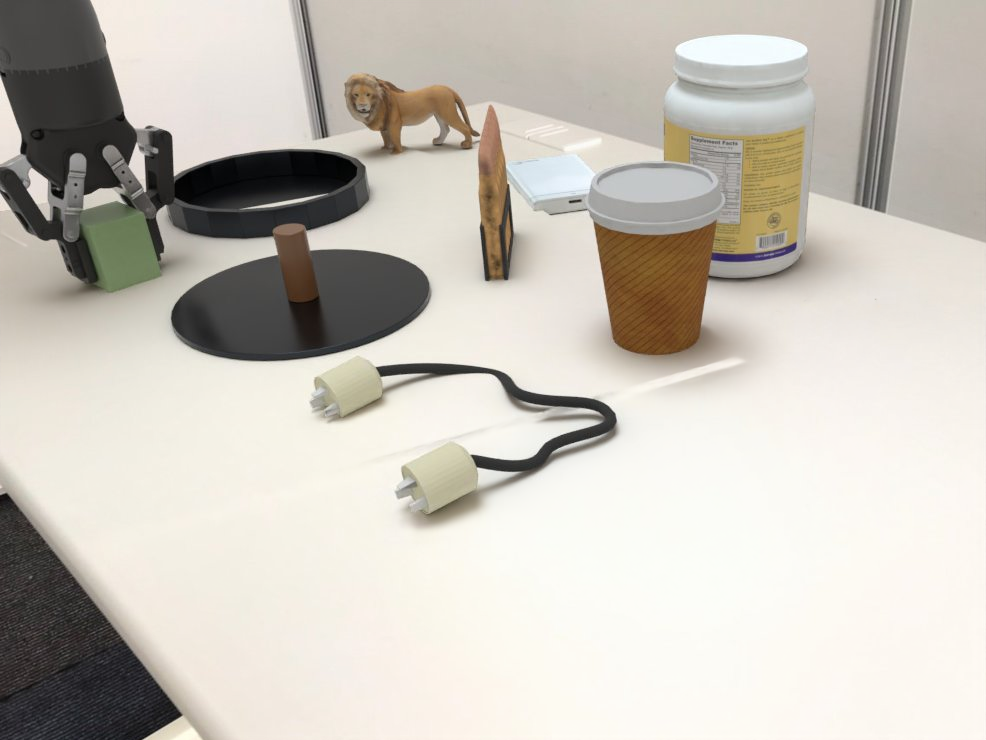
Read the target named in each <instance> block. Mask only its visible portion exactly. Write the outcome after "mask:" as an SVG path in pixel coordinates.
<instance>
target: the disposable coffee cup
mask: <svg viewBox="0 0 986 740" xmlns="http://www.w3.org/2000/svg"><path fill="white" fill-rule="evenodd" d="M724 204H725V197H724V194H723V193H722V192H721V191H720V185H719V181H718V179H717V176H716V175H715V174H714V173H712V172H711V171H709V170H708V169H705V168H702V167H700V166H696V165H692V164H687V163H679V162H672V161H664V160H644V161H633V162H627V163H623V164H617V165H614V166H610V167H607V168H604V169H603V170H601V171H599V172H597V174H596V175H595V176H594V177H593V179H592V180H591V186H590V191H589V193H588V194H587V196H586V198H585V207H586V208H587V209H586V210H587V211H588V214H589V217H590V218H591V219H592V222H593V228H594V234H595V240H596V241H595V242H596V246H597V253H598V259H599V265H600V269H601V276H602V282H603V287H604V288H603V289H604V294H605V299H606V300H605V301H606V304H607V310H608V318H609V323H610V330H611V335H612V339H613V341H614V343H615V344H616V345H617V346H618V347H619V348H622V349H623V350H625V351H628V352H631V353H635V354H638V355H639V354H640V355H645V356H646V355H648V356H650V355H651V356H660V355H661V356H665V355H671V354H672V355H673V354H675V353H680V352H683V351H686V350H688V349H689V348H692V347H694V345H695V344H696V343H697V342H698V341H699V339H700V333H701V328H702V327H701V326H702V320H703V314H704V308H705V303H706V302H705V301H706V297H707V296H706V295H707V288H708V282H709V277H710V276H709V270H710V263H711V256H712V250H713V244H714V237H715V230H716V223H717V218H718V217H719V216H720V213H721V209H722V208H723V207H724Z"/></svg>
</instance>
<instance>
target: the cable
mask: <svg viewBox="0 0 986 740" xmlns="http://www.w3.org/2000/svg"><path fill="white" fill-rule="evenodd" d="M417 374H418V375H423V374H430V375H432V374H434V375H435V374H437V375H464V374H465V375H466V374H467V375H468V374H483V375H484V374H485V375H491V376H493V377H495V378H497V380H498V381H499V382H500V383H501V384H502V386H503V388H504V389H505V391H506V392H507V393H508V394H509V395H510V396H511V397H512V398H514V399H515V400H518V401H520V402H524V403H527V404H532V405H537V406H542V407H555V408H556V407H557V408H572V409H573V408H574V409H583V410H590V411H594V412H596V413H598V414H600V415H601V416H602V417H603V418H604V419H605V420H603V421H602V422H599V423H597V424H594V425H591V426H588V427H584V428H581V429H580V428H579V429H576V430H572V431H569V432H566V433H563V434H560V435H557V436H555V437H552V438H551V439H549V440H548V441H546V442H544V444H542V446H541V447H540V448H539V450H538V451H537V453H536V454H534V455H533V456H530V457H528V458H524V459H504V458H503V459H501V458H496V457H495V458H494V457H491V456H485V455H479V454H470V452H469V451H468V450H467V448H465V447H464V446H462V445H461V444H459V443H457V442H454V441H449V442H447V443H445V444H443V445H440V446H439V447H437V448H434V449H433V450H430V451H429V452H426V453H424V454H423V455H421V456H418V457H417V458H415V459H413V460H410V461H409V462H407V463H405V464H403V465H401V468H400V471H401V475H402V479H403V480H402V481H401V482H399V483H398V484H397V485H396V489H394V490H393V491H394V494H395V496H396V499H397V500H401V499H404V498H407V497H411V498H412V500H413V502H411V503H410V504H409V508H410V511H411V513H416V512H418V511H421V512H423V513H424V514H425V515H430V514H431V513H433V512H435V511H437V510H438V509H441V508H442V507H444V506H446V505H449V504H450V503H452V502H453V501H456V500H457V499H460V498H462V497H463V496H465V495H468V494H469V493H472V492H473V491H475V490H476V489H477V487H478V481H479V470H478V469H483V470H488V471H494V472H504V473H522V472H528V471H531V470H534V469H537V468H539V467H540V466H542V465H543V464H544V463H546V462H547V460H548V459H549V457H551V456H552V454H553V453H554V452H555V451H557V450H559V449H561V448H563V447H565V446H569V445H572V444H575V443H579V442H583V441H587V440H591V439H594V438H597V437H599V436H603V435H605V434H607V433H609V432H610V431H612V430H613V429H614V428H615V426H616V425H617V422H618V419H617V414H616V412H615V411H614V410H613V409H612V408H611V406H609V405H608V404H607V403H605V402H604V401H601V400H598V399H595V398H590V397H585V396H584V397H583V396H571V395H555V394H554V395H553V394H543V393H538V392H537V393H536V392H532V391H528V390H525V389H523V388H520V387H519V386H518V385H516V383H515V381H514V380H513V379H512V378H511V376H509V375H508V374H507V373H506V372H504V371H501V370H498V369H494V368H489V367H484V366H476V365H468V364H457V363H441V362H415V363H396V364H388V365H379V366H375V365H374V364H373V363H372V362H371V361H370V360H369V359H366V358H365V357H362V356H359V355H356V356H354V357H352V358H350V359H349V360H347V361H344V362H342V363H341V364H339V365H337V366H334V367H332V368H331V369H329V370H327V371H325V372H323V373H321V374H319V375H316V376H315V377H314V379H313V386H314V390H315V391H313V392H312V393H311V394H310V395H311V397H312V398H310V399H309V400H308V402H309V404H310V406H311V407H310V408H312V409H316V408H319V407H322V406H324V407H326V408H324V409H323V412H324V415H325V418H327V417H330V416H334V415H335V414H337V415H338V416H340V418H344V417H346V416H348V415H350V414H352V413H353V412H356V411H358V410H359V409H361V408H363V407H366V406H367V405H369V404H372V403H373V402H374V401H376V400H379V399H380V398H381V397H382V395H383V385H384V384H383V380H382V378H383V377H384V378H385V377H393V376H404V375H417Z"/></svg>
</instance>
